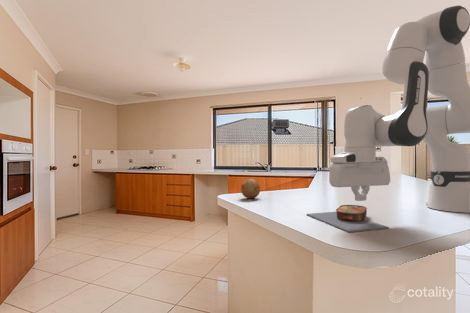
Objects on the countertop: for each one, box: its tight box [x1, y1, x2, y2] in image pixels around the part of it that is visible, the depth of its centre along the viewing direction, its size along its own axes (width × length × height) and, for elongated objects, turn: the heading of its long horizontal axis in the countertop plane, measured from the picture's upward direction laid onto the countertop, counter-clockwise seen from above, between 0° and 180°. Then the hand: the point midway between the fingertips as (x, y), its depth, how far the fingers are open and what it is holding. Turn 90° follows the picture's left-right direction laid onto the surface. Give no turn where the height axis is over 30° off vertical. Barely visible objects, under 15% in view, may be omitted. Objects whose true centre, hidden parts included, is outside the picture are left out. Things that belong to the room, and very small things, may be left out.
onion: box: [240, 178, 261, 199], centre depth 127 cm, size 10×10×10 cm
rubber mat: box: [306, 211, 390, 233], centre depth 79 cm, size 13×22×1 cm, turn 14°
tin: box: [335, 204, 368, 221], centre depth 83 cm, size 15×3×8 cm
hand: (360, 200), depth 80 cm, fingers closed
